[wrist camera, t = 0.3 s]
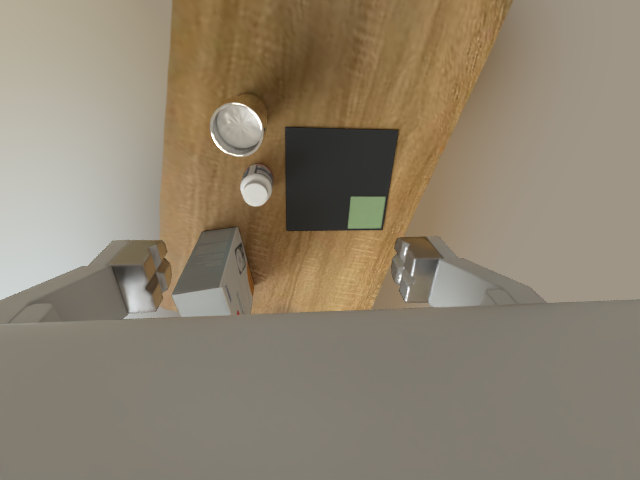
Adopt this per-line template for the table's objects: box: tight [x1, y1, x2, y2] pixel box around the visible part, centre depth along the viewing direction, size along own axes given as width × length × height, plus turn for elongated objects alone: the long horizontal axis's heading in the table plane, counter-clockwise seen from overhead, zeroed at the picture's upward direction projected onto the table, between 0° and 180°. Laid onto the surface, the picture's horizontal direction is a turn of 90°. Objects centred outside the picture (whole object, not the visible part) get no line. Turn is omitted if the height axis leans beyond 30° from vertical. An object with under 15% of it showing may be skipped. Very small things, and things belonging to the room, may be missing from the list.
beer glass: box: [210, 94, 267, 157], centre depth 45 cm, size 7×7×15 cm
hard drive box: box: [171, 227, 254, 317], centre depth 57 cm, size 16×8×20 cm, turn 7°
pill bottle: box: [240, 164, 273, 206], centre depth 53 cm, size 5×5×9 cm
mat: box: [285, 127, 398, 231], centre depth 59 cm, size 20×20×1 cm
